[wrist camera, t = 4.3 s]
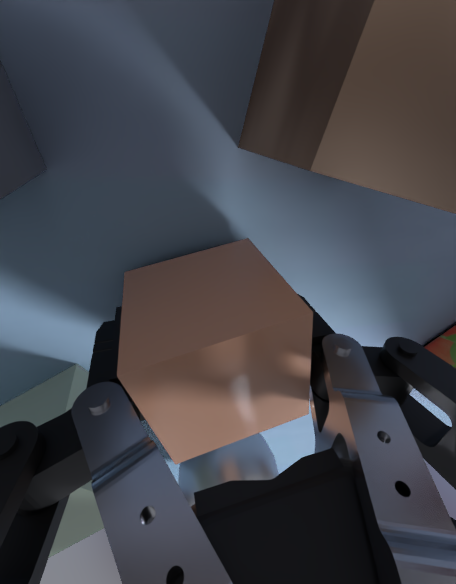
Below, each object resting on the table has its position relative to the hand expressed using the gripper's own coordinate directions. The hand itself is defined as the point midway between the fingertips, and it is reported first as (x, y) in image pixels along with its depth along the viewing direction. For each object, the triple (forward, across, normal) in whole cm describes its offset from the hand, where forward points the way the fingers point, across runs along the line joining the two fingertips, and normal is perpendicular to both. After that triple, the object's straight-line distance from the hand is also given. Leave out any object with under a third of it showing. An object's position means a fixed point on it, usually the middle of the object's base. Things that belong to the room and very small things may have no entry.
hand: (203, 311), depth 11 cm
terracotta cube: (+1, 0, 0) cm, 1 cm away
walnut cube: (+1, -5, -8) cm, 9 cm away
